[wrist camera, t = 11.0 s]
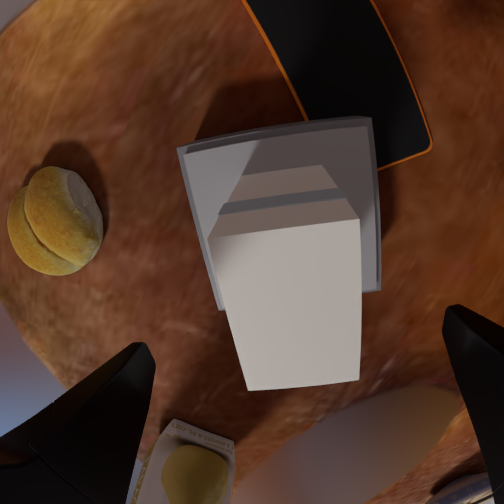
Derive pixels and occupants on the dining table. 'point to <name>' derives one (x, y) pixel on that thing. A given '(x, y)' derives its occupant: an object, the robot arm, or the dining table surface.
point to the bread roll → (55, 222)
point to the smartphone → (345, 69)
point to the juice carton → (186, 468)
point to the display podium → (286, 157)
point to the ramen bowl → (465, 491)
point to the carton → (291, 278)
